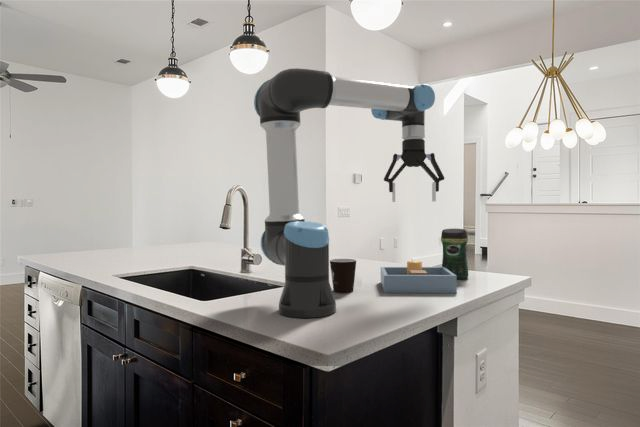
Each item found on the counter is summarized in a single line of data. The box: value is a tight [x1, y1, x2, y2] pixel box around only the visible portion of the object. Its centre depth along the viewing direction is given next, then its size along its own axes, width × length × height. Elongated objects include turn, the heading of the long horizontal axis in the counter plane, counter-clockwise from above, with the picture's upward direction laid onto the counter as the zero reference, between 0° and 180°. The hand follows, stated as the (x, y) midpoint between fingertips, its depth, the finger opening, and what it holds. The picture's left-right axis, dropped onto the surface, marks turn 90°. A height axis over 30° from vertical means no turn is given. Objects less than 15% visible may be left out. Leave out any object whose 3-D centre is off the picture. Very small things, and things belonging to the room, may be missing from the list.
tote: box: [380, 266, 458, 294], centre depth 144 cm, size 18×22×6 cm
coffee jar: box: [440, 228, 469, 280], centre depth 162 cm, size 10×8×19 cm
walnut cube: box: [409, 270, 427, 275], centre depth 140 cm, size 5×5×5 cm
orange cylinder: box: [406, 260, 423, 275], centre depth 148 cm, size 5×5×7 cm
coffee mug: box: [329, 258, 357, 294], centre depth 141 cm, size 12×9×10 cm
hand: (413, 201), depth 148 cm, fingers open, 13 cm apart
